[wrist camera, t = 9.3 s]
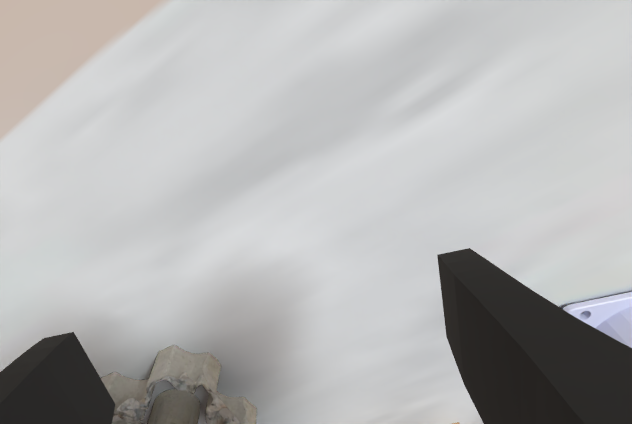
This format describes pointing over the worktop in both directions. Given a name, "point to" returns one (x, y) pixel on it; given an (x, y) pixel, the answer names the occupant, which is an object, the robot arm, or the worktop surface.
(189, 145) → the worktop surface
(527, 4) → the worktop surface
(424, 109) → the worktop surface
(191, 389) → the egg carton
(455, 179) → the worktop surface
